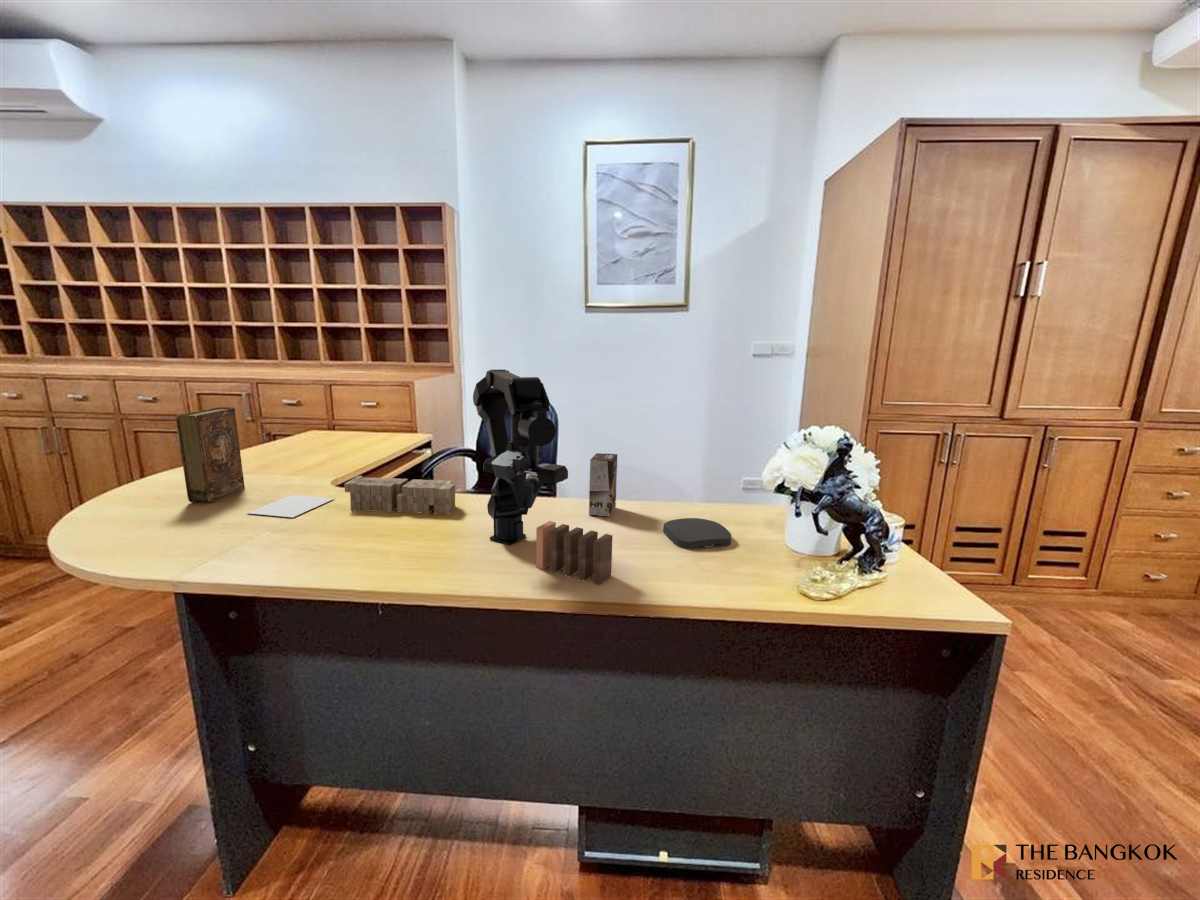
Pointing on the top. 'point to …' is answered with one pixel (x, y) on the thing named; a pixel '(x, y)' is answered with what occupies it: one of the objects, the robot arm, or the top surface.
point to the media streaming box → (697, 533)
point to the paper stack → (291, 506)
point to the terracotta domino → (543, 544)
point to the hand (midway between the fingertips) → (525, 507)
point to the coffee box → (602, 484)
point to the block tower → (401, 495)
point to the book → (210, 453)
